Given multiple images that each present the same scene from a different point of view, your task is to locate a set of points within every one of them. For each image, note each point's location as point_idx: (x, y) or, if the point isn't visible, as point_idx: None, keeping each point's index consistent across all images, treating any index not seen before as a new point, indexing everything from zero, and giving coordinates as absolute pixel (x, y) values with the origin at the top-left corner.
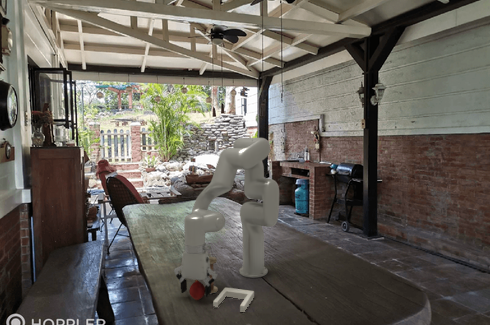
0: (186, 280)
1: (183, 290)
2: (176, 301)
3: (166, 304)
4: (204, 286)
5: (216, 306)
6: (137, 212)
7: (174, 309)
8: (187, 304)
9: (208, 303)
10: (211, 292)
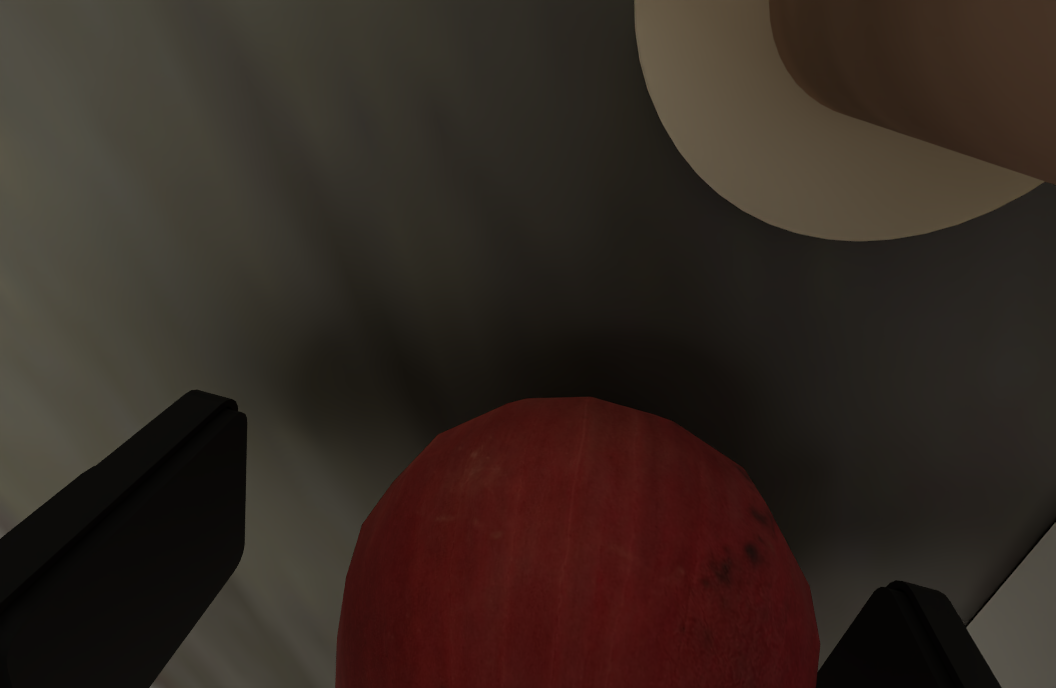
0: (10, 658)
1: (210, 589)
2: None
3: None
4: (815, 686)
5: None
6: None
7: (309, 667)
8: None
9: (819, 562)
10: (941, 223)
